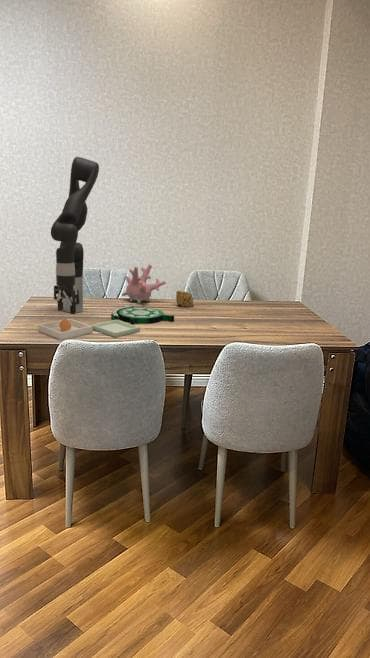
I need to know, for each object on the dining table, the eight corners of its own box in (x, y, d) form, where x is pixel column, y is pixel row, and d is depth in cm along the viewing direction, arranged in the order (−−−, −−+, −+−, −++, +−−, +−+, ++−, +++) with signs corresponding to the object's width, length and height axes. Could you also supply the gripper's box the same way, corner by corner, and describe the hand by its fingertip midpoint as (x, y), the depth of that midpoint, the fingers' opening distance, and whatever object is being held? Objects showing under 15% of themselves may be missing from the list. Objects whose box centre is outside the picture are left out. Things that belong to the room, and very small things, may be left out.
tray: (91, 329, 212) (91, 324, 212) (116, 323, 222) (116, 319, 222) (115, 337, 202) (115, 333, 202) (140, 331, 212) (140, 327, 212)
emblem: (121, 304, 247) (179, 310, 242) (121, 310, 248) (179, 316, 243) (103, 316, 223) (167, 322, 218) (103, 323, 224) (167, 329, 219)
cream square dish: (38, 331, 206) (38, 324, 205) (70, 324, 217) (70, 318, 216) (60, 340, 195) (60, 333, 195) (92, 333, 207) (92, 326, 206)
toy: (136, 296, 280) (136, 261, 275) (165, 302, 269) (167, 266, 263) (114, 301, 265) (114, 264, 260) (144, 307, 254) (145, 269, 248)
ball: (57, 330, 206) (56, 319, 204) (67, 328, 209) (66, 317, 208) (64, 333, 203) (63, 321, 201) (74, 331, 206) (73, 319, 205)
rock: (179, 312, 268) (177, 294, 270) (195, 309, 268) (192, 292, 270) (177, 307, 257) (174, 289, 259) (193, 305, 256) (191, 287, 258)
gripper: (83, 275, 198) (84, 314, 202) (62, 270, 207) (64, 307, 211) (68, 276, 192) (69, 316, 196) (47, 272, 201) (49, 310, 205)
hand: (66, 312), depth 204 cm, fingers open, 8 cm apart
